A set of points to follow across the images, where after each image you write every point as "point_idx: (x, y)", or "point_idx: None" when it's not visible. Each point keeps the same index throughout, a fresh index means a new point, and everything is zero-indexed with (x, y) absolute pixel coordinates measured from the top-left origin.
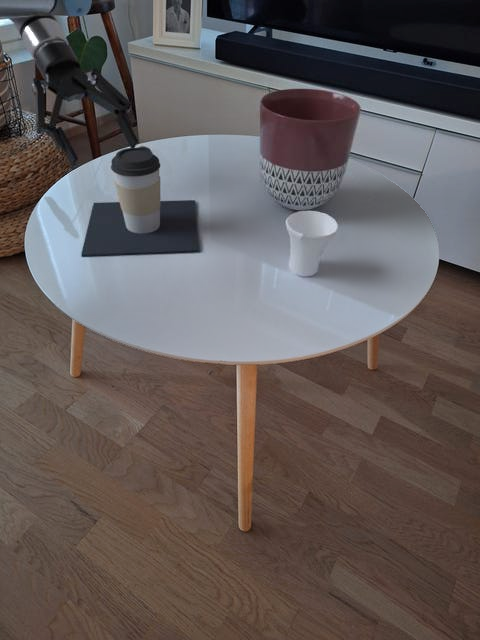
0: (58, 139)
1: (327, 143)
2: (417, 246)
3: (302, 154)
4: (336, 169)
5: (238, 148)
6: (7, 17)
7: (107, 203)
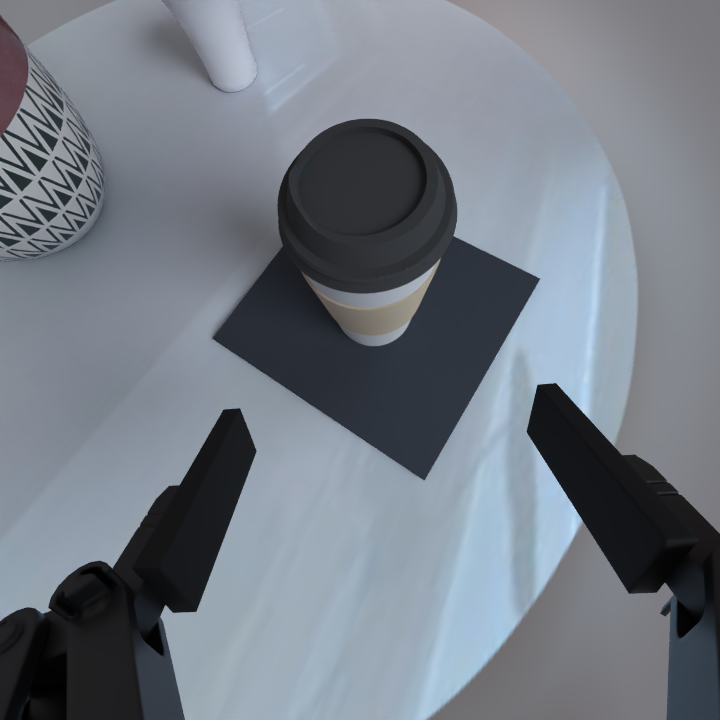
0: (655, 485)
1: None
2: (62, 41)
3: None
4: None
5: None
6: None
7: (395, 451)
